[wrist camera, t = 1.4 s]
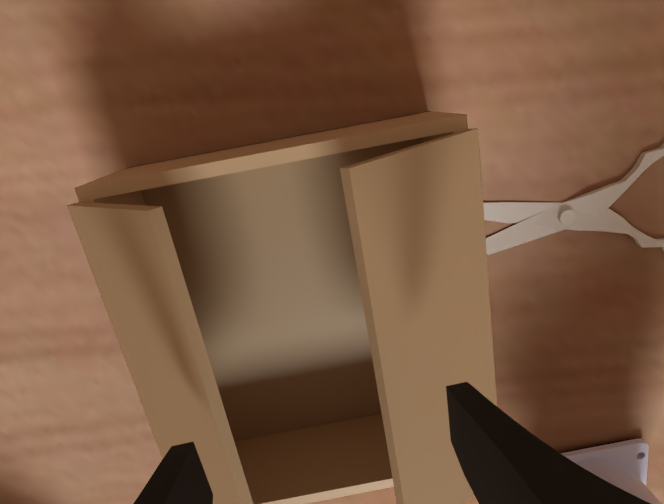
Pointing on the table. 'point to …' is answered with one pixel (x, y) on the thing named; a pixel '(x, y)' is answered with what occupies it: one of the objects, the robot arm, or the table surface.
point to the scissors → (569, 213)
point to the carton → (282, 298)
